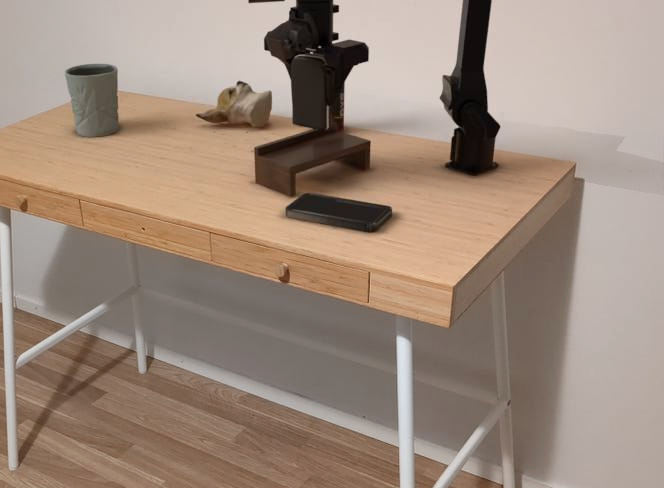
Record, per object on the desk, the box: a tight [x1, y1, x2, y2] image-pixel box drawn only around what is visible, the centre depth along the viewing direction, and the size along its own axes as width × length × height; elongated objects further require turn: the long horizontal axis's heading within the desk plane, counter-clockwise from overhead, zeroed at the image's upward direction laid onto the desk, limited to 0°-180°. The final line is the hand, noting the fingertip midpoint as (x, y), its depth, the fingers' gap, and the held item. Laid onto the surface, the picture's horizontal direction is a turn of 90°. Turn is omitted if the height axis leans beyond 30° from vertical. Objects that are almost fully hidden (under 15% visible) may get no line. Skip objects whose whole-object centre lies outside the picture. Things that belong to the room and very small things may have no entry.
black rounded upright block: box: [290, 52, 332, 130], centre depth 145 cm, size 7×4×11 cm, turn 50°
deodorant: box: [312, 47, 346, 132], centre depth 168 cm, size 6×6×15 cm
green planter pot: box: [64, 63, 120, 138], centre depth 177 cm, size 10×10×12 cm
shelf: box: [253, 123, 372, 198], centre depth 150 cm, size 9×18×6 cm, turn 127°
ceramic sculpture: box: [195, 80, 273, 128], centre depth 177 cm, size 11×9×15 cm
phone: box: [285, 192, 393, 233], centre depth 137 cm, size 8×1×15 cm
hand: (314, 101), depth 145 cm, fingers closed on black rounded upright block, 7 cm apart
